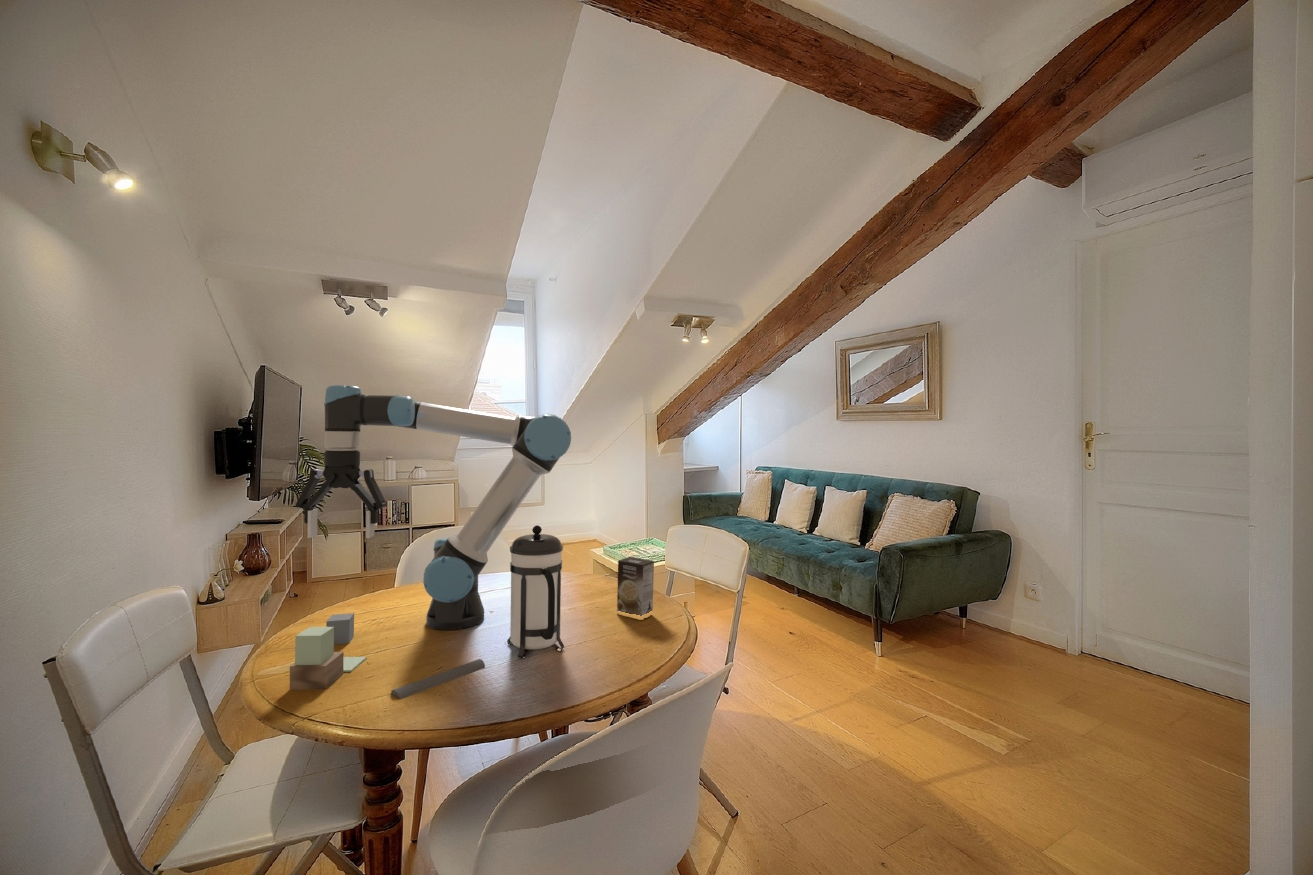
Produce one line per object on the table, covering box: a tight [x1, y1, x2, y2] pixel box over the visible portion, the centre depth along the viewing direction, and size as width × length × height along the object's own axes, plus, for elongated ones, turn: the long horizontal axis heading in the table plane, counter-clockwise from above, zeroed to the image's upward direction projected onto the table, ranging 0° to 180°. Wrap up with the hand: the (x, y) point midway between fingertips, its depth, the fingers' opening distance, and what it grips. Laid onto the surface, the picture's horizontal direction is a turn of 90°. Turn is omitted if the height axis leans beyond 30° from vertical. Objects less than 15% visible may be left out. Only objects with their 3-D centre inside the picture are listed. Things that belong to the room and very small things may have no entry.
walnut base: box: [289, 651, 345, 691], centre depth 112 cm, size 7×7×5 cm
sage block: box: [294, 626, 335, 665], centre depth 112 cm, size 5×5×6 cm
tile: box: [343, 656, 367, 673], centre depth 120 cm, size 7×7×1 cm
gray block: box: [325, 612, 355, 646], centre depth 134 cm, size 5×5×6 cm
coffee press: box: [506, 524, 565, 659], centre depth 131 cm, size 17×16×30 cm
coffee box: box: [616, 556, 655, 616], centre depth 157 cm, size 9×6×16 cm
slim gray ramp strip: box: [391, 658, 486, 700], centre depth 114 cm, size 4×20×2 cm, turn 141°
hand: (341, 537), depth 130 cm, fingers open, 13 cm apart
